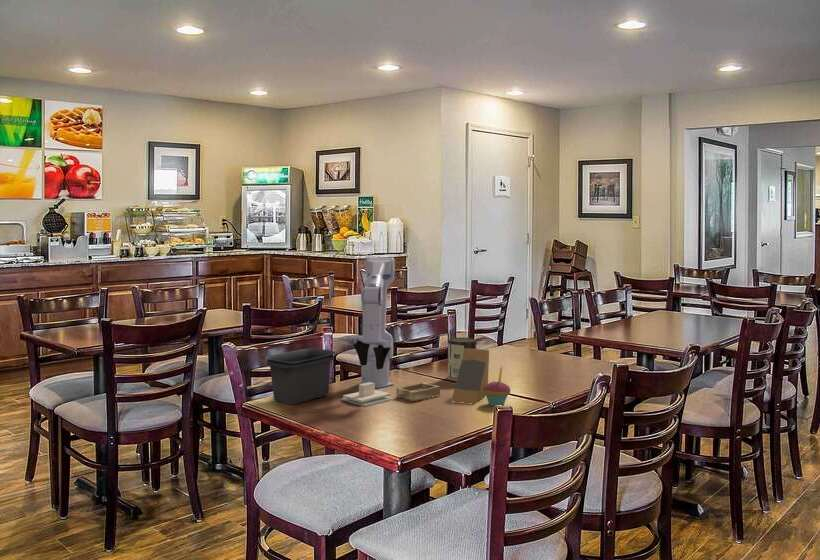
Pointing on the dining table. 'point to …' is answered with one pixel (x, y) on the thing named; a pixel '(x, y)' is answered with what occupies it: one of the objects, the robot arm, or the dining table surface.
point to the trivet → (367, 401)
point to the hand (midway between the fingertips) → (371, 367)
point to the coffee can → (457, 354)
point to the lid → (366, 393)
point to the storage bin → (300, 374)
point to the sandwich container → (472, 376)
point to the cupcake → (496, 391)
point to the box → (418, 391)
